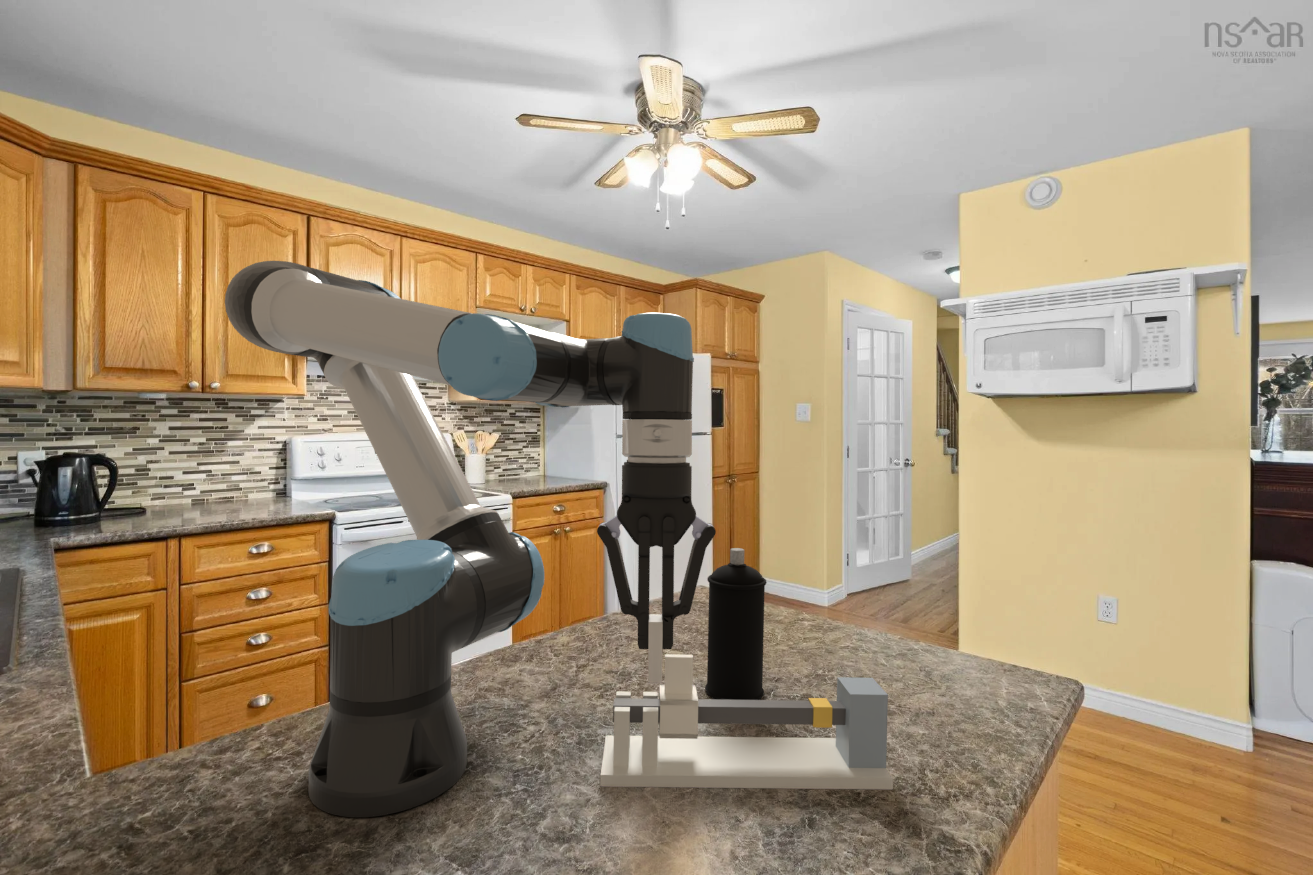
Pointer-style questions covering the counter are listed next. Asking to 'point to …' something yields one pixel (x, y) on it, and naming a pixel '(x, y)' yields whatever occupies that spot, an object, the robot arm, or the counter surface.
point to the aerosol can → (735, 631)
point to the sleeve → (678, 699)
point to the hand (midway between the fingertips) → (655, 677)
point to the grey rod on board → (755, 744)
